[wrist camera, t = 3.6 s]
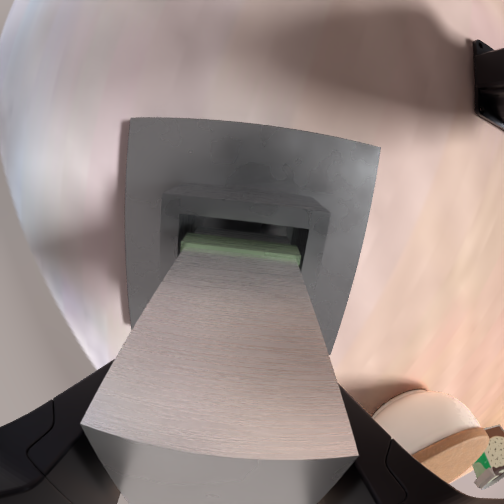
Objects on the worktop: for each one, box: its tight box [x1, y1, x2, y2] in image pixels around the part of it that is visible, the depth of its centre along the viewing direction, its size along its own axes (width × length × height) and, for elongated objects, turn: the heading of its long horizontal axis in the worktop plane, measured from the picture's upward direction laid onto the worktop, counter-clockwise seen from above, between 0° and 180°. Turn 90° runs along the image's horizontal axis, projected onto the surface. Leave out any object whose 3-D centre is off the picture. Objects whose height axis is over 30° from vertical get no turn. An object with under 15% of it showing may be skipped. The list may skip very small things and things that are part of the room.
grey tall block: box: [80, 226, 359, 504], centre depth 9 cm, size 4×5×10 cm
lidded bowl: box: [372, 389, 489, 483], centre depth 18 cm, size 13×13×11 cm
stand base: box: [125, 118, 381, 355], centre depth 15 cm, size 14×14×5 cm
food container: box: [473, 425, 504, 490], centre depth 24 cm, size 12×6×10 cm, turn 73°
